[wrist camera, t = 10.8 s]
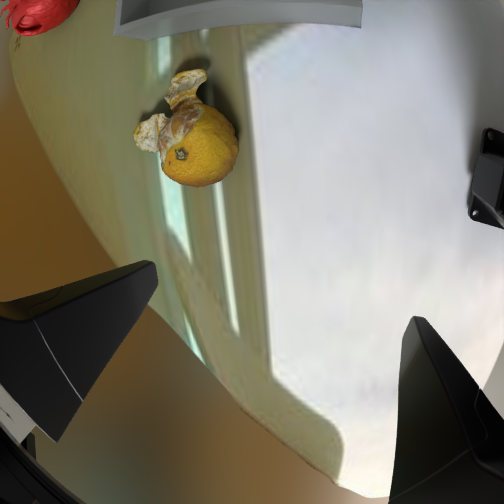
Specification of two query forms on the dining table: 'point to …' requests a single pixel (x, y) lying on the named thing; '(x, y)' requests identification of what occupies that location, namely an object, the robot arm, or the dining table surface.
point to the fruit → (190, 135)
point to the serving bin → (226, 14)
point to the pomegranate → (38, 14)
